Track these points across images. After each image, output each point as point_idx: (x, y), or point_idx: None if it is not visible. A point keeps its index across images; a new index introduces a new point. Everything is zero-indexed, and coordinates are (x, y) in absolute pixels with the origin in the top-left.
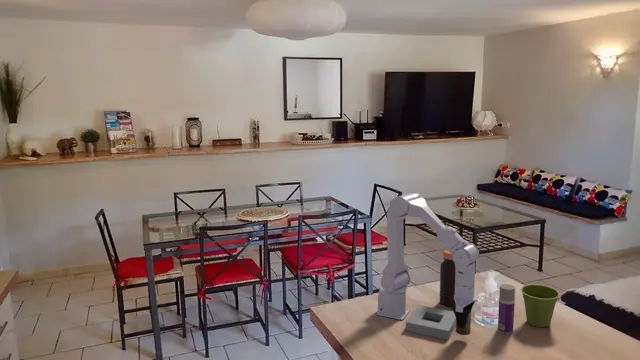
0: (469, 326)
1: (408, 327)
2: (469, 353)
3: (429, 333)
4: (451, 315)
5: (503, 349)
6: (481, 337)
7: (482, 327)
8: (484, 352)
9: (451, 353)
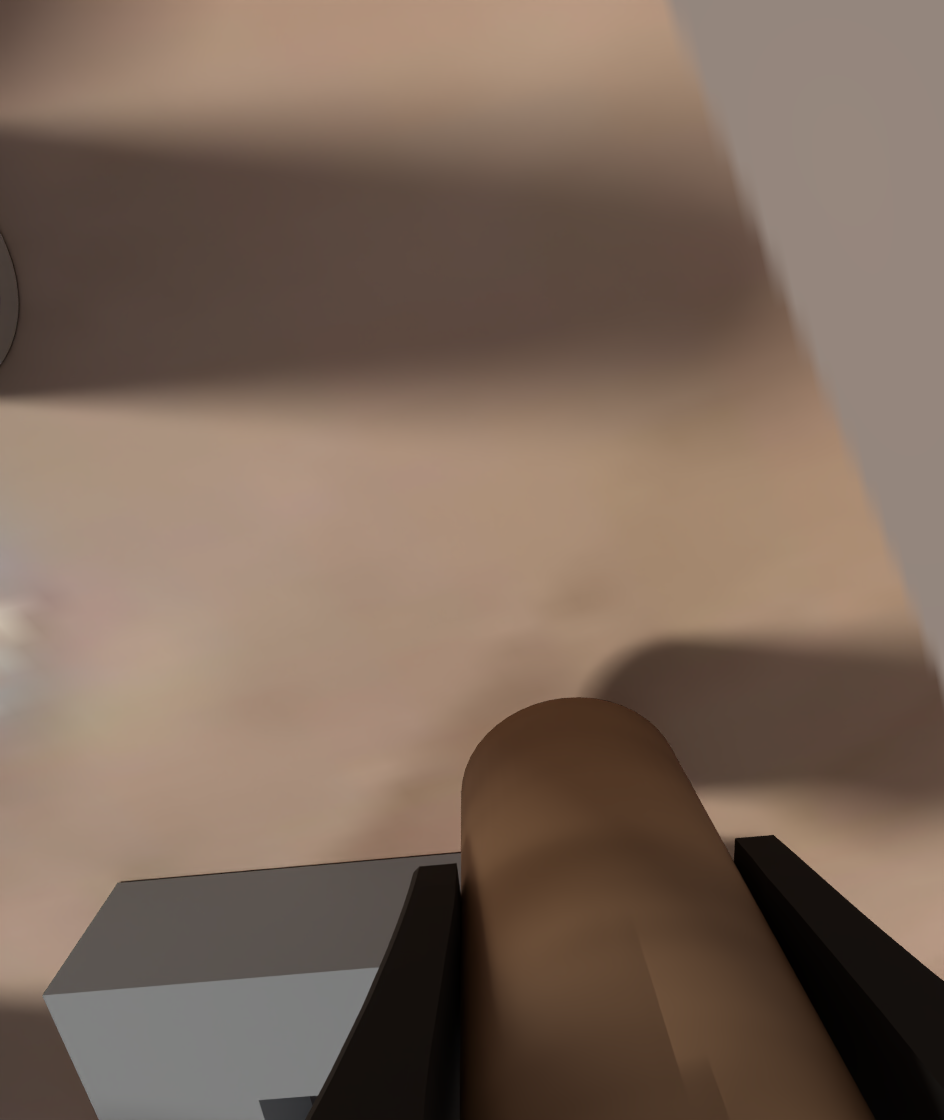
0: (647, 793)
1: None
2: (862, 552)
3: None
4: (197, 1037)
5: (541, 136)
6: (358, 537)
7: (66, 603)
8: (760, 386)
9: (934, 725)
